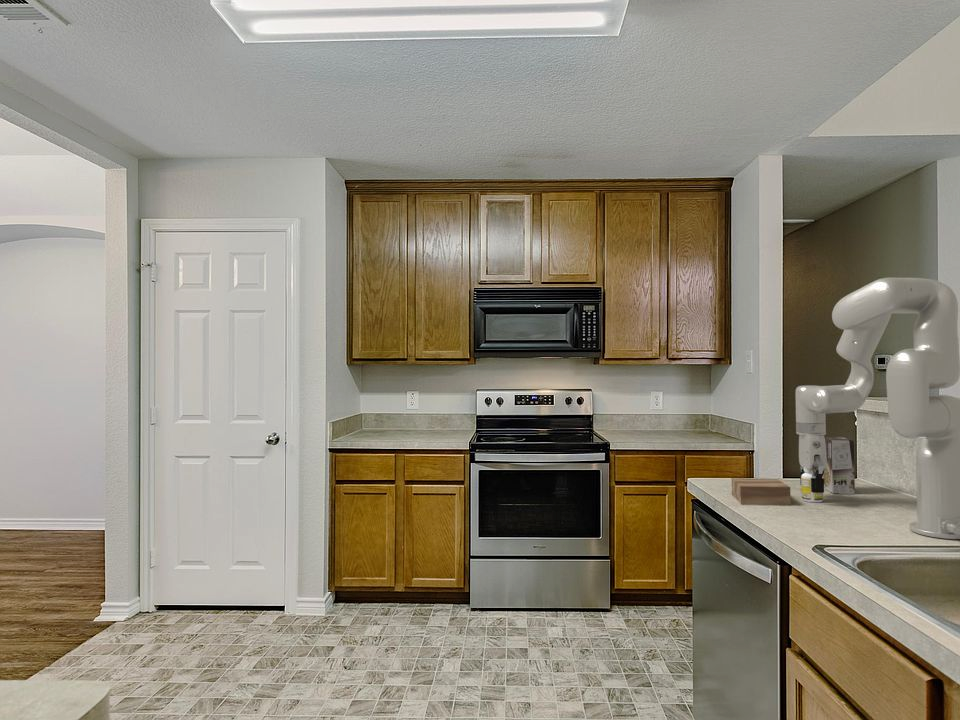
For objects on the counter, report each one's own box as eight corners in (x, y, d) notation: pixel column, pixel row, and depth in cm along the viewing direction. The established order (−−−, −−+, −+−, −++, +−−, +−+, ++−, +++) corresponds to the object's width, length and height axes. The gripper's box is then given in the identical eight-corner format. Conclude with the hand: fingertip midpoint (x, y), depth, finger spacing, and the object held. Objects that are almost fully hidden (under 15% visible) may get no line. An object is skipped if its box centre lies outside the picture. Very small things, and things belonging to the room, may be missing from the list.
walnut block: (790, 505, 181) (790, 487, 181) (741, 504, 183) (740, 486, 183) (778, 495, 194) (777, 478, 194) (731, 494, 196) (731, 478, 196)
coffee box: (856, 494, 194) (854, 439, 194) (832, 494, 195) (831, 439, 195) (845, 488, 203) (844, 436, 203) (822, 488, 204) (821, 436, 204)
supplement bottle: (823, 499, 187) (822, 465, 187) (822, 503, 182) (822, 468, 182) (802, 498, 190) (801, 464, 190) (801, 502, 185) (800, 467, 185)
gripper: (835, 432, 177) (837, 495, 177) (815, 425, 194) (816, 483, 194) (806, 432, 178) (807, 495, 178) (788, 425, 195) (789, 483, 195)
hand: (812, 489), depth 186 cm, fingers open, 9 cm apart
